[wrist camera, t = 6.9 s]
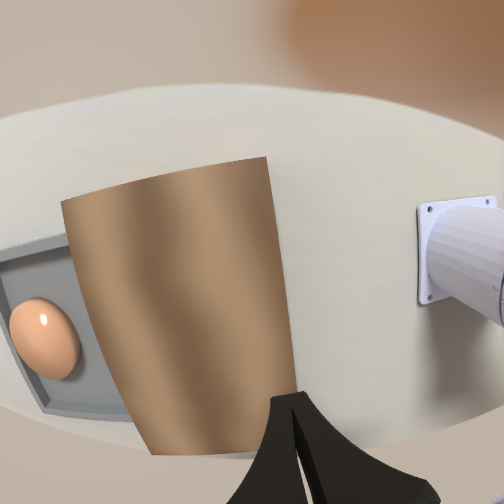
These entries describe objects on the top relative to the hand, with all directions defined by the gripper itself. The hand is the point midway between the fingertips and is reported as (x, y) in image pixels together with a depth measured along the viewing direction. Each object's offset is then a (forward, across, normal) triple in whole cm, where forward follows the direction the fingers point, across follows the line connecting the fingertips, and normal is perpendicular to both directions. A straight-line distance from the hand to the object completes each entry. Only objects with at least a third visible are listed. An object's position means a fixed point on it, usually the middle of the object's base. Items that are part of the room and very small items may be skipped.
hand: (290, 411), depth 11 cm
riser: (+10, +5, 0) cm, 12 cm away
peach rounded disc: (+8, +19, 0) cm, 20 cm away
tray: (+10, +17, 0) cm, 20 cm away
